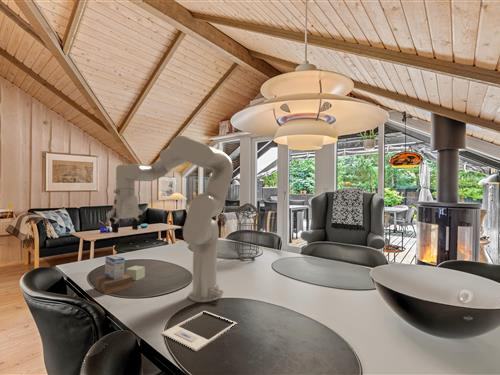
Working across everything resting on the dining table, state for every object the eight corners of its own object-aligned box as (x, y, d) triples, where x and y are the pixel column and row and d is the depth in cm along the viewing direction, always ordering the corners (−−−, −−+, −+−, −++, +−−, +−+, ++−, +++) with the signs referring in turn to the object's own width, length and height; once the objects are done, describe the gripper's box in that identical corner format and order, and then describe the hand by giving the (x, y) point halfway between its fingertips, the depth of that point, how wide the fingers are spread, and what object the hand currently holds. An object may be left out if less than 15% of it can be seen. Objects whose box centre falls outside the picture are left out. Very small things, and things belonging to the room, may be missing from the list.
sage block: (144, 276, 133) (145, 266, 133) (136, 280, 127) (136, 270, 127) (135, 275, 135) (135, 265, 135) (125, 279, 129) (126, 268, 129)
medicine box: (104, 276, 118) (105, 256, 118) (114, 274, 122) (115, 254, 122) (114, 280, 113) (114, 259, 114) (124, 277, 117) (124, 257, 117)
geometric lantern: (231, 256, 174) (233, 202, 175) (254, 255, 179) (256, 202, 179) (237, 262, 159) (239, 203, 160) (262, 261, 163) (264, 203, 164)
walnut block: (132, 288, 118) (132, 277, 118) (105, 295, 110) (105, 283, 110) (121, 282, 125) (121, 271, 125) (95, 289, 117) (95, 277, 117)
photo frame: (161, 331, 81) (204, 310, 96) (161, 335, 81) (204, 313, 96) (196, 348, 72) (237, 322, 87) (196, 353, 72) (237, 325, 87)
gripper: (112, 192, 111) (112, 234, 110) (147, 192, 126) (147, 229, 125) (101, 192, 114) (101, 233, 114) (136, 192, 129) (136, 228, 129)
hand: (125, 231), depth 120 cm, fingers open, 9 cm apart
